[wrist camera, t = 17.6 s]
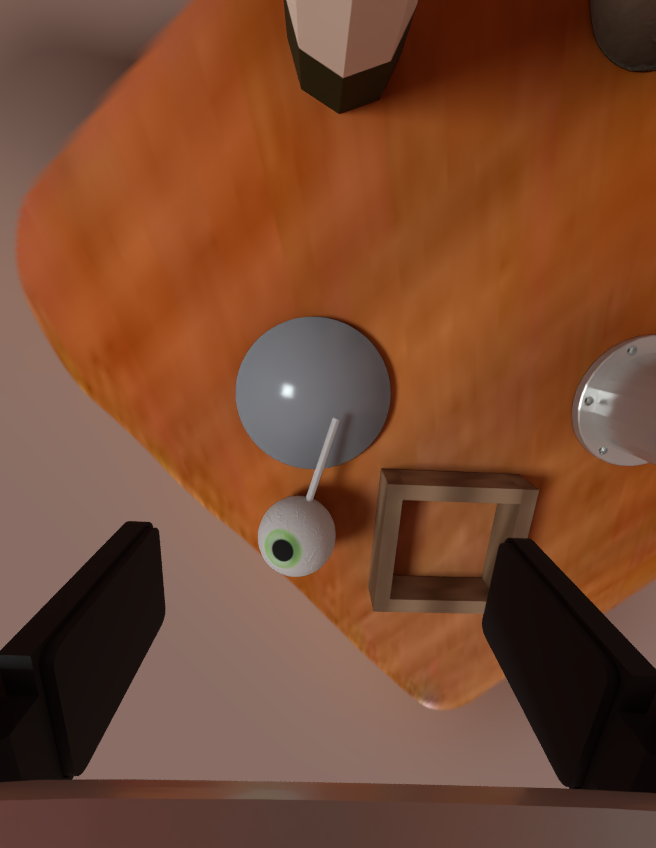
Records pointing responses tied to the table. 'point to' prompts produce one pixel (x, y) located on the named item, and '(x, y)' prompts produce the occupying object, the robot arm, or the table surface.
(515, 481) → the frame
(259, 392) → the gray round disc
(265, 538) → the eyeball on stick
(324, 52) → the wine bottle
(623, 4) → the pillar candle
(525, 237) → the table surface
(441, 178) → the table surface
